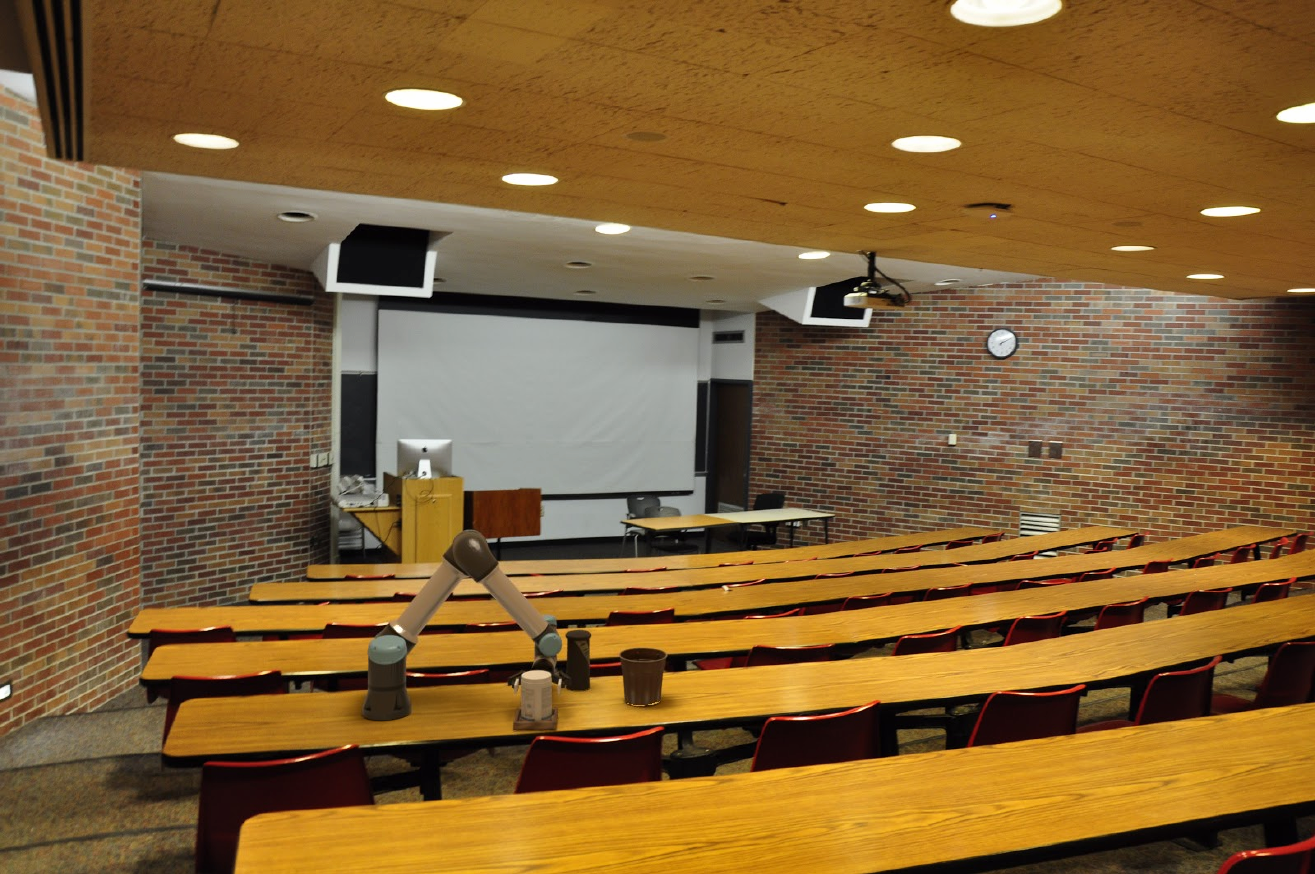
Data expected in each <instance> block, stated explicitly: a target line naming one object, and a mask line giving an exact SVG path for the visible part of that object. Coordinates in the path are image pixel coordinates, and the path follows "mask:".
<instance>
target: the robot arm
mask: <svg viewBox="0 0 1315 874" xmlns="http://www.w3.org/2000/svg"><path fill="white" fill-rule="evenodd" d="M441 558H442V559H441V560H442V563H441V564H440V565H439V566H438V568H437V569H436V570H435V572H434V573H433V575H431V576H430V578H429V579H428V580H427V582H426V583H425V584H424V586H423V587H422V588H421V589H420V591H418V593H417V594H416V596H415V597H414V598H413V599H412V600H411V602H410V603H409V604H408V605H407V607H406V608H405V609H404V611H403V612H402V613H401V614H400V615H399V617H398V618H397V619H395V620H390V621H388V624H387V625H385V627H384V628H383V630H381V631H380V632H379V633H377V634H376V635H375V637H374V638H373V639H372V640H371V641H369V643H368V648H367V679H368V680H367V693H366V696H365V698H364V701H363V704H362V708H361V713H362V715H361V716H362V717H363V716H364V717H363V718H365V717H366V718H365V719H367V718H368V719H367V720H371V721H390V720H391V721H392V719H393V720H397V718H398V719H401V717H402V718H404V717H406V716H408V715H410V714H411V713H412V709H413V707H412V705H413V704H412V702H411V697H410V695H409V692H408V689H407V658H408V656H409V654H410V653H411V652H412V651H413V650H414V648H415V647H416V645H417V644H418V643H419V638H418V636H419V634H420V633H421V632H422V630H423V629H425V626H427V624H428V623H429V622H430V620H431V619H432V618H433V617H434V615H435V614H436V613H437V612H438V611H439V609H440V608H441V606H442V605H444V603H445V602H446V600H447V599H448V598H449V597H450V595H451V594H452V592H454V590H455V589H456V588H457V586H458V585H459V584H460V583H461V581H462V580H463V579H465V578H467V579H468V578H471V579H472V580H473V581H474V582H475V583H476V584H480V585H482V586H483V587H484V588H485V589H486V591H488V593H489V594H490V595H491V596H492V597H493V598H494V599H495V600H496V601H497V603H498V604H499V605H500V606H501V607H502V608H503V609H504V610H505V611H506V613H507V614H508V615H509V616H510V617H511V619H513V621H514V622H515V623H516V624H517V625H519V627H520V628H521V629H522V631H524V632H525V634H526V635H527V636H528V637H529V638H530V639H531V641H532V642H533V643H534V650H533V651H534V660H533V663H532V666H531V668H530V671H535V670H541V671H547V672H549V673H551V678H552V684H555V685H557V694H558V695H560V694H561V692H562V689H565V688H566V685H567V686H571V678H570V677H569V676H567V675H566V673H564V672H563V670H562V669H561V670H559V669H558V671H557V672H555V670H556V669H555V668H556V665H557V662H558V654H560V653H561V651H562V649H563V640H562V637H561V636H560V634H559V632H558V629H557V626H558V624H557V617H556V616H555V615H552V614H542V615H541V613H540V612H539V611H538V610H537V608H535V607H534V606H533V604H531V602H530V601H529V600H528V599H527V598H526V596H525V595H524V594H523V593H522V592H521V591H520V590H519V589H518V587H517V586H516V585H515V584H514V583H513V582H512V581H511V580H510V578H509V577H508V576H507V575H506V574H505V573H504V572H503V570H502V569H501V568H500V563H499V561H498V560H497V559H496V557H494V555H493V553H492V552H491V550H490V547H489V544H488V540H487V537H485V536H484V535H483V534H482V533H481V532H479V531H477V530H474V529H466V530H463V531H460V532H459V533H458V534H456V535H455V537H454V538H453V540H452V542H451V545H449V547H448V548H447V549H446V551H445V552H444V553H443V554H442V556H441ZM525 672H526V671H525V670H524V669H521V670H520V671H518V672H517V673H515V674H513V675H511V676H508V677H507V687H511V689H513V693H514V695H516V694H517V693H518V691H519V688H520V686H521V676H522V674H523V673H525ZM403 716H404V717H403Z"/></svg>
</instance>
